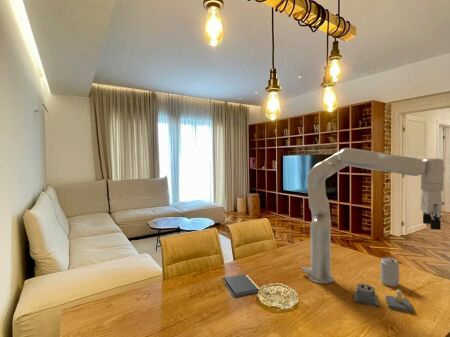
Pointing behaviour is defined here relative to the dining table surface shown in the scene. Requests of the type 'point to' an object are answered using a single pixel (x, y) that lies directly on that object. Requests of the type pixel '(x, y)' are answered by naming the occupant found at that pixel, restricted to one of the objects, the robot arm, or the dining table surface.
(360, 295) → the collar
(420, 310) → the dining table surface
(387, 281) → the can
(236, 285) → the dark grey book
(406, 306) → the square base with peg
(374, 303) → the stand
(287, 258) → the dining table surface
